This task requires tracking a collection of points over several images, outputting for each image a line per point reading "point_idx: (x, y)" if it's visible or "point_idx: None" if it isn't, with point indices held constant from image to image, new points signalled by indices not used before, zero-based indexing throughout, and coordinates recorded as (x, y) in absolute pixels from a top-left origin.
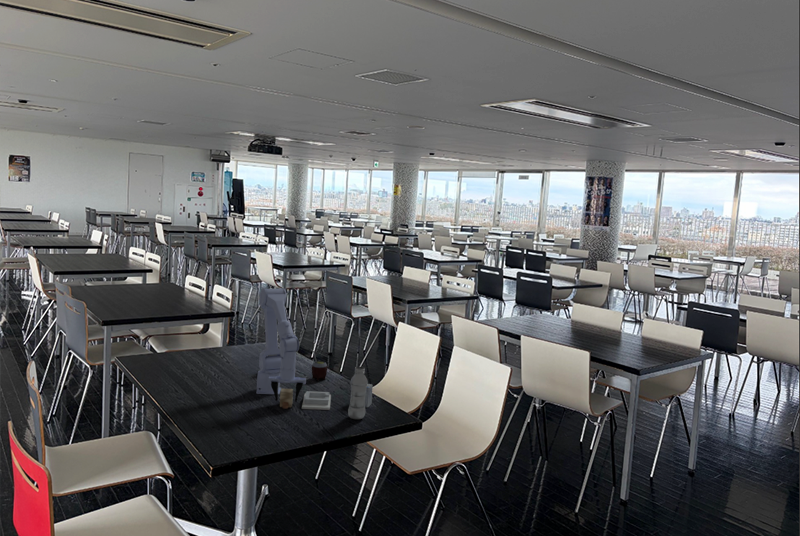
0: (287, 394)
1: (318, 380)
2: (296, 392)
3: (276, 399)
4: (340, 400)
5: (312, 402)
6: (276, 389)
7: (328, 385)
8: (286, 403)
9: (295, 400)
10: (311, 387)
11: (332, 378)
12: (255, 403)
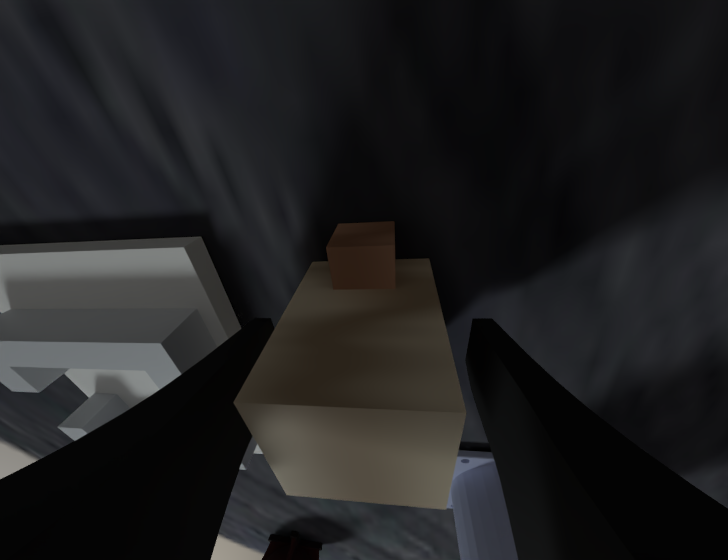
0: (325, 371)
1: (291, 534)
2: (168, 412)
3: (488, 326)
4: (69, 397)
5: (113, 319)
6: (601, 492)
7: (235, 508)
8: (345, 250)
9: (258, 324)
10: (295, 500)
11: (252, 539)
12: (692, 313)
